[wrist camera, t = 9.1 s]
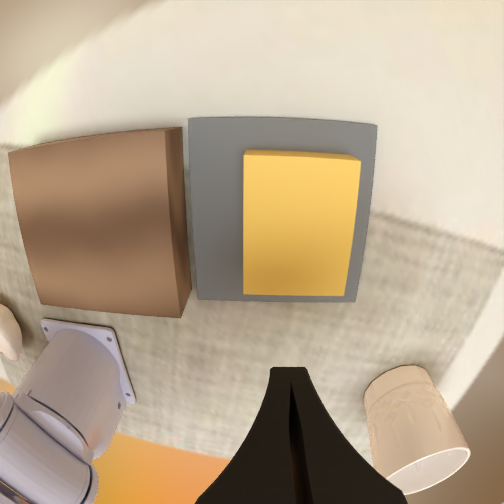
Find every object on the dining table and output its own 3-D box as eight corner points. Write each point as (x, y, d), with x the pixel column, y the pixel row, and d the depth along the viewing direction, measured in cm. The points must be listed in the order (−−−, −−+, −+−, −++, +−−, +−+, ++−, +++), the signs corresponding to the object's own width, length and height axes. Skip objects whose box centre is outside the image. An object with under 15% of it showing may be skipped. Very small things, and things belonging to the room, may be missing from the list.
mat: (353, 298, 22) (355, 302, 22) (199, 295, 23) (197, 299, 22) (374, 125, 17) (377, 125, 17) (189, 118, 18) (188, 118, 17)
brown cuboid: (191, 289, 23) (180, 318, 19) (63, 281, 23) (41, 304, 20) (182, 127, 18) (164, 130, 15) (38, 144, 18) (8, 152, 15)
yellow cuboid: (243, 294, 19) (245, 274, 21) (343, 296, 19) (336, 276, 21) (243, 155, 16) (246, 149, 18) (361, 161, 16) (349, 154, 18)
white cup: (440, 388, 27) (473, 464, 18) (374, 423, 29) (393, 502, 20) (421, 345, 24) (465, 435, 15) (343, 387, 26) (363, 483, 17)
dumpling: (43, 342, 26) (25, 368, 23) (17, 347, 27) (-1, 370, 24) (6, 283, 24) (-18, 305, 20) (-17, 294, 25) (-39, 314, 21)
